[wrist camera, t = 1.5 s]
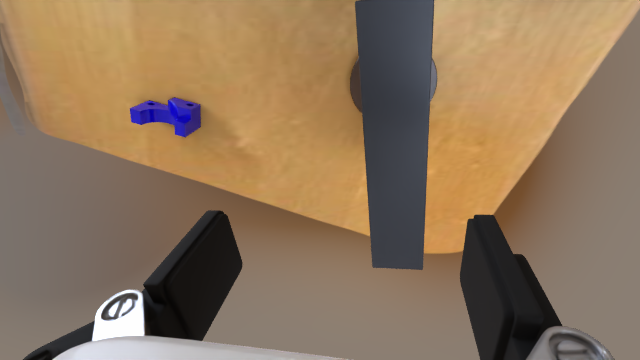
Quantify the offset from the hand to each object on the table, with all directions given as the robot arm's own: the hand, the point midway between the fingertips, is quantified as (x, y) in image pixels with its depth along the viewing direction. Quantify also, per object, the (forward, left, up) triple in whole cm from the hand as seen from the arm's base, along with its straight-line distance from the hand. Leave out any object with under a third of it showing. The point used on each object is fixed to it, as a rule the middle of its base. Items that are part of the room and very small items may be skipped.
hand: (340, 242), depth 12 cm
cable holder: (+29, +1, -30) cm, 42 cm away
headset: (-2, 0, -22) cm, 22 cm away
